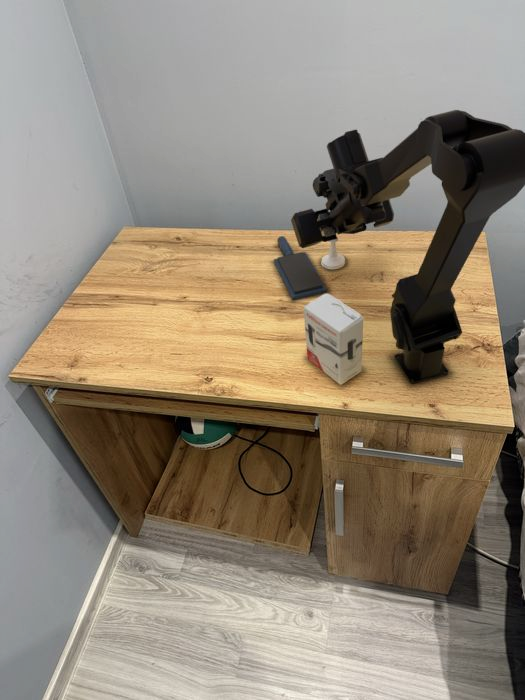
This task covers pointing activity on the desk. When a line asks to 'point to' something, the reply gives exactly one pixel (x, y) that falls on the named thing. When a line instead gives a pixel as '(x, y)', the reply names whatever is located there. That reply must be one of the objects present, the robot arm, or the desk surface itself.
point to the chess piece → (333, 257)
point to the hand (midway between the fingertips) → (330, 231)
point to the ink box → (334, 337)
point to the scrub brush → (298, 272)
